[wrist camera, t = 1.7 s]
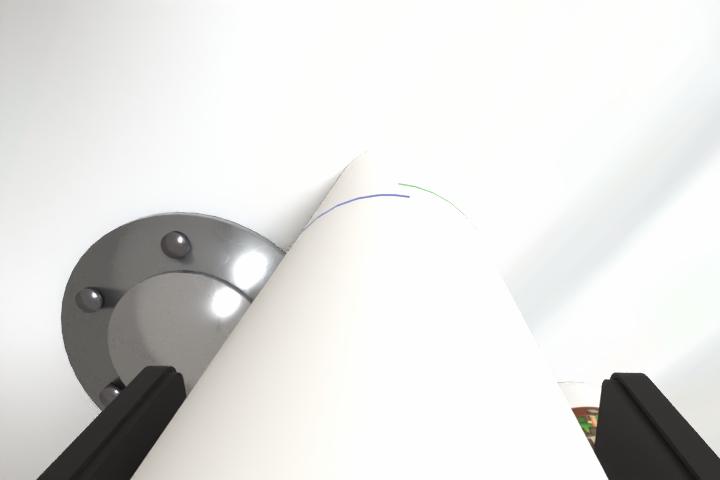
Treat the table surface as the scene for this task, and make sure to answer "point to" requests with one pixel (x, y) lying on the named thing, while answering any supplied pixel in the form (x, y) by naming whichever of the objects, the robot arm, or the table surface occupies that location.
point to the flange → (160, 298)
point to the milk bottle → (583, 406)
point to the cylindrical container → (379, 355)
